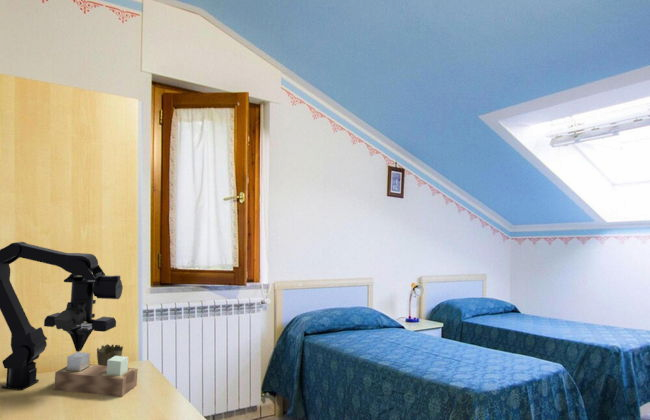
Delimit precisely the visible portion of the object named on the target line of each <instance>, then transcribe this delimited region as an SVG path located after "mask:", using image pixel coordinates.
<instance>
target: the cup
mask: <svg viewBox="0 0 650 420" xmlns="http://www.w3.org/2000/svg"><path fill="white" fill-rule="evenodd" d="M123 348H124V346H123V345H120V344H115V345H114V344H111V345H110V344H106V345H104V344H103V345H101V347H100V348H99V347H97V349H96V357H97V365H104V366H107V360H109V359H111V358H112V357H114V356H122V355H123V350H124V349H123Z"/></svg>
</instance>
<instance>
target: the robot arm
mask: <svg viewBox="0 0 650 420" xmlns="http://www.w3.org/2000/svg"><path fill="white" fill-rule="evenodd" d="M20 258H21V259H25V260H30V261H34V262H39V263H42V264H45V265H46V264H48V265H51V266H56V267H58V268H60V269H62V270H64V271H65V272H67V273H70V274H69V275H68V276H67V277H66V278H65V279H63V282H64V283H71V292H70V293H71V294H70V301H68V302H67V304H66V307H65V309H64V310H63V311H61V312H55V313H52V314H48V315H47V316H46V317H45V318H44V321H43V327H48V328H54V327H55V329H57V330H62V331H64V332H66V333H68V334H69V335H70V338H71V340H72V341H71V342H72V343H73V346H74V348H75V353H76V352H82V350H83V348H84V347H85V344H86V342H88V341H87V340H88V339H89V337H90V335H91V334H92V332H93V331H95V332H108V331H109V330H111V329H113V328H115V327H116V328H117V321H116V318H115V317H111V316H101V317H99V318H97V319H94V318H95V317H96V316H95V315H96V314H95V313H93V310H94V309H93V307H94V304H96V302H97V300H96V299H94V297H96V298H97V299H100V300H101V299H102V300H103V299H106V300H120V299H121V296H122V294H123V289H124V288H123V287H124V285H123V283H122V280H121V275H106V273H105V272H104V270H103V269H102V268H101V266H100V264H99V261H98V258H97V257H96V256H95V254H91V253H84V252H83V253H81V252H65V251H61V250H60V251H59V250H55V249H53V248H51V249H50V248H48V247H43V246H39V245H35V244H30V243H26V242H24V241H17V242H12V243H10V244H8V245H7V246H5V247H3V248H1V249H0V312H1V314H2V316H3V319H4V321H5V323H6V325H7V328H8V329H9V331H10V335H11V336H10V348H11V353H10V354H9V355H8V356H7V357H5V358H4V359H3V360H2V366H3V368H4V369H6V382H5V383H4V384H2V385H1V389H9V390H18V391H20V390H21V391H23V390H25V389H27V388H29V387H31V386H33V385H34V384H37V383H38V382H39V381H40V380H39V379H37V370H38V369H37V365H36V364H37V362H36V360H37V359H39V357H40V356H41V354H42V353H43V352H44V351H45V350H46V349H47V346H48V345H47V343H48V342H47V340H48V337H46V336H45V333H44V329H43V328H42V327H38V328H35V327H34V326H33V325H32V324H31V323H30V321H29V319H28V316H27V314H26V312H25V311H24V308H23V306H22V303H21V302H20V300H19V297H18V295H17V293H16V292H15V289H14V286H13V285H12V283H11V266H10V264H12V263H14V262H16V261H17V260H19V259H20Z"/></svg>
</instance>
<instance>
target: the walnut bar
mask: <svg viewBox="0 0 650 420" xmlns="http://www.w3.org/2000/svg"><path fill="white" fill-rule="evenodd" d="M138 370H139V369H138V368H134V367H133V368H132V367H128V371H127V372H126V373H124V374H123V375H121V376H115V375H107V366H104V365H98V364H92V363H91V364H90V363H89V367H88V368H87V369H85V370H83V371H81V372H74V371H67V366H65V367H63V368H61V369H59V370H58V371H55V372H54V373H55V374H54V387H53V390H54V391H61V392H68V393H79V394H80V393H81V394H89V395H90V394H91V395H98V396H99V395H100V396H108V397H109V396H111V397H118V398H119V397H121V398H122V397H124V396H125V395H126V394H127V393H129V392H130V391H132V390H133V389H135V388H136V387H137V386H138V385H137V384H138V383H137V382H138Z"/></svg>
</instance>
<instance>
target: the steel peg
mask: <svg viewBox="0 0 650 420" xmlns="http://www.w3.org/2000/svg"><path fill="white" fill-rule="evenodd" d="M66 359H67V362H66V367H67V371H74V372H81V371H83V370H85V369H87V368H88V367H89V364H90V352H82V351H80V352H76V351H75V352H73V353H72V354H70V355H68V356H67V358H66Z"/></svg>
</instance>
